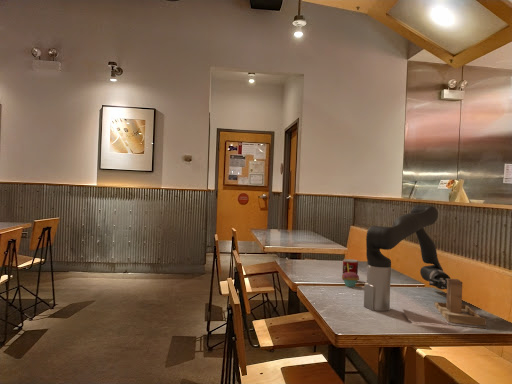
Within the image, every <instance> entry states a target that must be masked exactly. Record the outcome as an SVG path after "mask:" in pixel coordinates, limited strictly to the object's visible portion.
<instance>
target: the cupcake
mask: <svg viewBox="0 0 512 384" xmlns="http://www.w3.org/2000/svg"><path fill="white" fill-rule="evenodd" d="M347 269H348V272H346V273H343V272H342V274H341V279H342V280H343V279H344V280H343V282H344V285H345V287H347V288H355V287H356V284H357V282H358V281H359V280H360V276H359V275H357V274H356V273H355V272H349V266H348V263H347Z"/></svg>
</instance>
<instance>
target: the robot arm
mask: <svg viewBox="0 0 512 384" xmlns="http://www.w3.org/2000/svg"><path fill="white" fill-rule="evenodd" d="M438 217H439V212H438V209H437V208H436V206H434V205H430V204H428V205H426V204H415V205H412V208H411V210H410V213H406V214H405V213H404V214H402V215H400V216H398V217H397V218H395V219H394V221H393V222H392V226H383V225H382V226H381V225H380V226H379V225H371V226H370V227H369V228H368V229H367V230H366V231H367V232H366V237H365V238H366V239H365V241H366V245H365V247H366V248H365V249H366V253H365V254H366V261H367V263H366V264H367V265H366V266H367V268H366V270H367V271H366V282H364V285H363V287H364V289H363V307H364V308H367V309H369V310H371V311H380V312H385V311H389V310H390V308H391V307H390V305H391V277H392V261H391V259H390V258H388V257H387V256H385V255H384V254H383V253H382V252H381V250H385V251H388V250H392V249H394V248H395V247H396V246H398V244H400V243H401V242H402V241H403V240H405V239H406V238H408V237H410V236H411V235H413V234H415V235H416V238H417V240H418V243H419V247H420V253H421V259H422V262H423V263H424V264H426V265H425V266H424V265H423V266H422V267H421V268H420V270H419V271H420V272H419V273H420V276H421V277H422V279H423V280H424V281H426V282H428V283H429V286H433V287H435V288H437V289H439V290H447V278H448V279H452V278H451V277H450V275H448V274H447V273H446V272H445V271H444V269H443V267H442V266H441V263H440V262H439V257H438V253H437V252H438V251H437V247H436V243H435V242H434V241H433V240H432V238H431V236H430V235H428V233H427V232H426V230H425V227H426V228H427V226H431V225H434V224H435V223H436V222H437V219H438ZM427 264H428V265H427ZM429 264H430V265H429Z"/></svg>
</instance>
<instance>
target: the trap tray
mask: <svg viewBox="0 0 512 384" xmlns="http://www.w3.org/2000/svg"><path fill="white" fill-rule="evenodd" d="M446 303H447V302H440V301H438V302H436V301H435V302H434V307H435V308H436V310H438V311H439V313H440V314H441V315H442V316H443V317H444V318H445V319H446V321H447V322H449V323H457V324H466V325H457V324H449V323H448V324H447V325H448V326H455V327H461V328H462V327H464V328H473V329H474V328H475V329H479V330H481V329H482V330H486V329H487V328H486V325H487V318H486V317H481V316H480V315H479V314H478V313H477V312H475V310H473V309H472V308H471V307H469V305H467V304H462V311H461V313H454V312H450V311H449V310H448V309H447V308H446ZM462 312H463V313H462ZM467 313H469V314H467ZM469 325H475V326H469ZM476 326H477V327H476ZM478 326H483V327H478ZM484 326H485V327H484Z"/></svg>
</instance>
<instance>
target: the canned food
mask: <svg viewBox="0 0 512 384" xmlns="http://www.w3.org/2000/svg"><path fill="white" fill-rule="evenodd" d="M347 263H348V266H349V272H355V273H356V274H357V275H358V273H359V260H357V259H349V258H347V259H343V260H342V274H343V273H346V272H348V269H347ZM358 276H359V275H358ZM342 281H344V279H342Z"/></svg>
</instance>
